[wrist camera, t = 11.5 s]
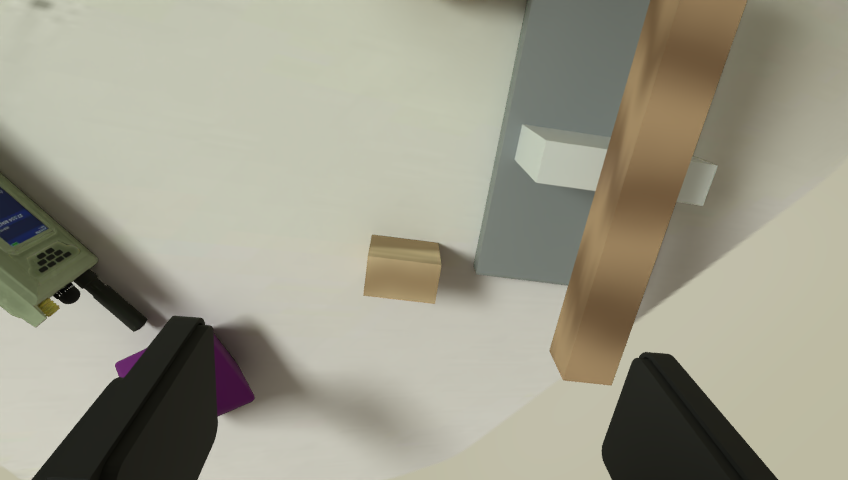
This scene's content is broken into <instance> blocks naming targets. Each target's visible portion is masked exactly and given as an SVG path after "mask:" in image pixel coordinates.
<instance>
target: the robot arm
mask: <svg viewBox="0 0 848 480" xmlns="http://www.w3.org/2000/svg"><path fill="white" fill-rule="evenodd" d="M217 427H218V418H217V397H216V376H215V355H214V334H213V328H212V326H209V325H205V322H204V320H203V319H202V318H196V317H183V316H173V317H172V318H171V319H170V320H169V321H168V322H167V323H166V325H165V326H164V327H163V329H162V330H161V331H160V332H159V334H158V335H157V336H156V338H155V339H154V340H153V341H152V343H151V344H150V345H149V346H148V348H147V349H146V350H145V352H144V353H143V354H142V355H141V357H140V358H139V359H138V361H137V362H136V363H135V364H134V366H133V367H132V368H131V370H130V371H129V372H128V373H127V375H126V376H125V377H118V378H116V379H114V380H113V381H112V382H111V383H110V384H109V385H108V386H107V387H106V388H105V390H104V391H103V392H102V393H101V395H100V396H99V397H98V398H97V399H96V401H95V402H94V403H93V404H92V406H91V407H90V408H89V409H88V411H87V412H86V413H85V414H84V416H83V417H82V418H81V419H80V420H79V422H78V423H77V424H76V425H75V427H74V428H73V429H72V430H71V432H70V433H69V434H68V435H67V436H66V438H65V439H64V440H63V441H62V443H61V444H60V445H59V446H58V448H57V449H56V450H55V451H54V453H53V454H52V455H51V456H50V457H49V459H48V460H47V461H46V462H45V464H44V465H43V466H42V467H41V469H40V470H39V471H38V472H37V474H36V475H35V476H34V477H33V478H32V480H197V479H198V477H199V475H200V472H201V470H202V468H203V466H204V463H205V461H206V459H207V457H208V454H209V452H210V450H211V448H212V445H213V443H214V440H215V437H216V433H217ZM602 458H603V461H604V464H605V466H606V468H607V470H608V472H609V474H610V476H611V478H612V480H778V479H777V478H776V477H775V475H774V474H773V473H772V472H771V471H770V470H769V468H768V467H767V466H766V465H765V464H764V462H763V461H762V460H761V459H760V458H759V457H758V455H757V454H756V453H755V452H754V451H753V450H752V448H751V447H750V446H749V445H748V444H747V443H746V441H745V440H744V439H743V438H742V437H741V435H740V434H739V433H738V432H737V431H736V430H735V428H734V427H733V426H732V425H731V424H730V423H729V421H728V420H727V419H726V418H725V417H724V416H723V414H722V413H721V412H720V411H719V410H718V408H717V407H716V406H715V405H714V404H713V403H712V402H711V400H710V399H709V398H708V397H707V396H706V394H705V393H704V392H703V391H702V390H701V389H700V387H699V386H698V385H697V384H696V383H695V381H694V380H693V379H692V378H691V377H690V376H689V374H688V373H687V372H686V371H685V370H684V369H683V367H682V366H681V365H680V364H679V363H678V362H677V360H676V359H675V358H674V357H673V356H672V355H670V354H663V353H650V352H649V353H648V352H645V353H642V354H641V355H640V356H639V358H635V359H634V360H633V361H632V364H631V366H630V369H629V372H628V375H627V377H626V380H625V383H624V386H623V389H622V392H621V394H620V397H619V400H618V403H617V406H616V408H615V411H614V414H613V417H612V419H611V422H610V425H609V428H608V431H607V433H606V436H605V439H604V442H603V445H602Z"/></svg>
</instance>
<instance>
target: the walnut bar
mask: <svg viewBox="0 0 848 480" xmlns="http://www.w3.org/2000/svg"><path fill="white" fill-rule="evenodd" d="M746 3H747V0H650V3H649V6H648V10H647V13H646V17H645V20H644V24H643V27H642V31H641V34H640V38H639V41H638V45H637V48H636V52H635V55H634V59H633V62H632V66H631V69H630V73H629V76H628V79H627V83H626V86H625V90H624V93H623V97H622V100H621V104H620V107H619V111H618V114H617V118H616V121H615V125H614V128H613V132H612V135H611V139H610V142H609V146H608V149H607V153H606V156H605V160H604V163H603V167H602V170H601V173H600V177H599V180H598V184H597V187H596V191H595V194H594V198H593V201H592V205H591V208H590V212H589V215H588V219H587V222H586V226H585V229H584V233H583V236H582V240H581V243H580V247H579V250H578V254H577V257H576V261H575V264H574V267H573V271H572V274H571V278H570V281H569V285H568V288H567V292H566V295H565V299H564V302H563V306H562V309H561V313H560V316H559V320H558V323H557V327H556V330H555V334H554V337H553V341H552V344H551V348H550V353H551V355H552V357H553V359H554V362H555V364H556V366H557V368H558V370H559V372H560V374H561V377H562V379H563V380H566V381H575V382H584V383H594V384H603V385H612V383H613V380H614V377H615V374H616V371H617V369H618V366H619V362H620V360H621V357H622V354H623V352H624V348H625V346H626V343H627V340H628V337H629V334H630V331H631V329H632V326H633V323H634V320H635V318H636V315H637V312H638V309H639V306H640V303H641V301H642V298H643V295H644V292H645V289H646V286H647V283H648V281H649V278H650V275H651V272H652V269H653V266H654V264H655V261H656V258H657V255H658V252H659V249H660V247H661V244H662V241H663V238H664V235H665V232H666V230H667V227H668V224H669V221H670V218H671V215H672V213H673V210H674V207H675V204H676V201H677V198H678V196H679V193H680V190H681V187H682V184H683V181H684V179H685V176H686V173H687V170H688V167H689V164H690V162H691V159H692V156H693V153H694V150H695V147H696V145H697V142H698V139H699V136H700V133H701V130H702V128H703V125H704V122H705V119H706V116H707V113H708V111H709V108H710V105H711V102H712V99H713V96H714V93H715V91H716V88H717V85H718V82H719V79H720V76H721V74H722V71H723V68H724V65H725V62H726V59H727V57H728V54H729V51H730V48H731V45H732V42H733V40H734V37H735V34H736V31H737V28H738V25H739V23H740V20H741V17H742V14H743V11H744V8H745V6H746Z"/></svg>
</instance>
